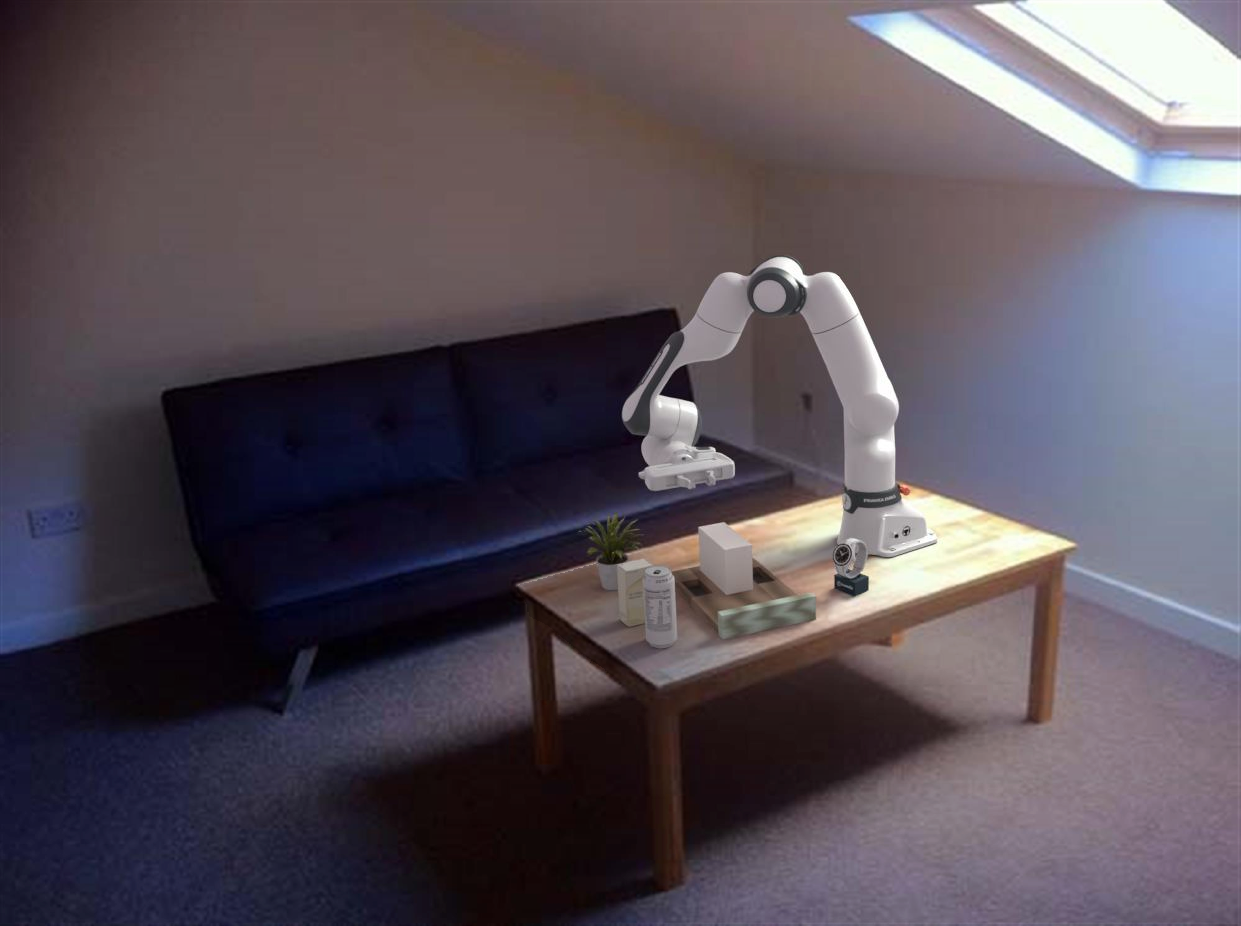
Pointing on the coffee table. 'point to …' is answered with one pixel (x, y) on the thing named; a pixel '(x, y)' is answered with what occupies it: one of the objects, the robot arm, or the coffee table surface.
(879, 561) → the coffee table surface
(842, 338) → the robot arm
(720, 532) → the block
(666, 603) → the energy drink can
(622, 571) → the skincare box
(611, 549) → the house plant
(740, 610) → the wooden tray
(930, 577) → the coffee table surface
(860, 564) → the watch
